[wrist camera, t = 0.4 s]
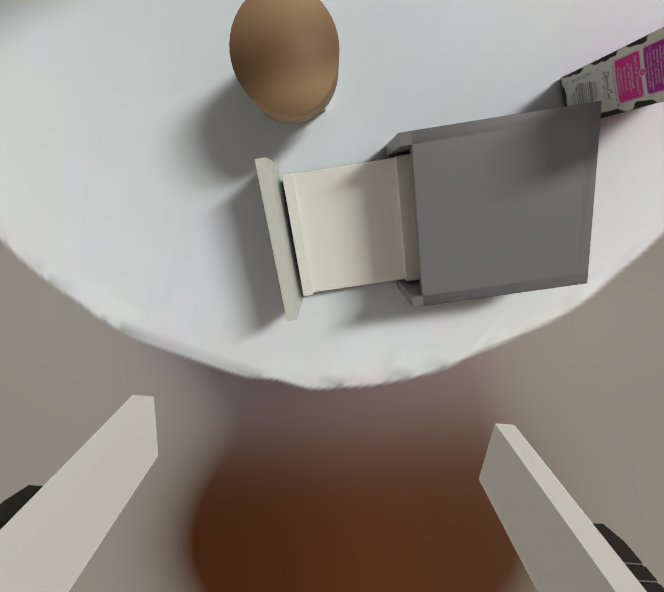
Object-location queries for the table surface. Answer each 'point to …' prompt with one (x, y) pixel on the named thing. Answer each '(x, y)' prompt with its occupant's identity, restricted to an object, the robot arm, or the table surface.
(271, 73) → the brown flattened rounded piece
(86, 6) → the table surface
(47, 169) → the table surface
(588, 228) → the housing
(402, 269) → the cream pull-out drawer
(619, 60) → the candy bar box
